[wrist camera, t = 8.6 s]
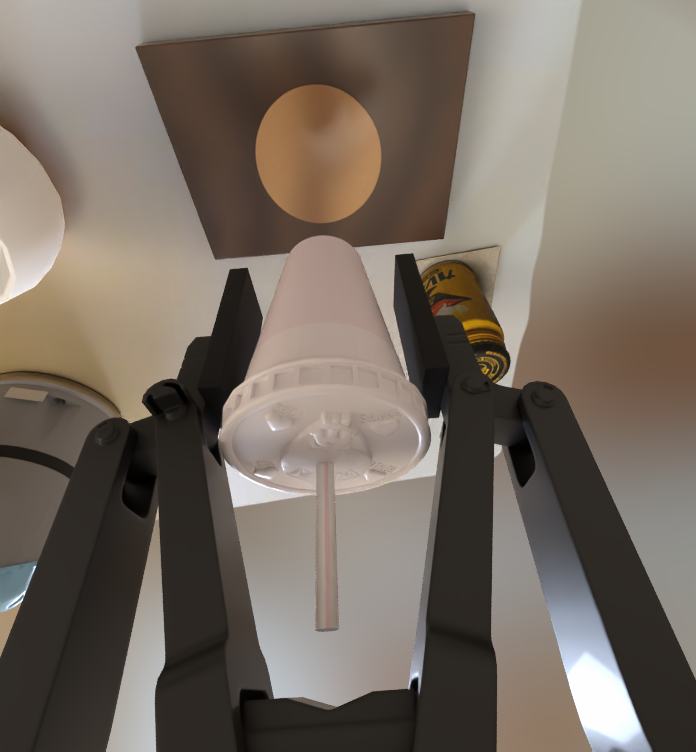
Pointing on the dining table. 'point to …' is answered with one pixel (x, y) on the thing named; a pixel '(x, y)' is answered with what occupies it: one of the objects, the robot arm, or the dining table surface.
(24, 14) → the dining table surface
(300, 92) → the board
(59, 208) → the cup
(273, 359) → the smoothie
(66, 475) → the robot arm
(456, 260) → the condiment
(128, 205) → the dining table surface
